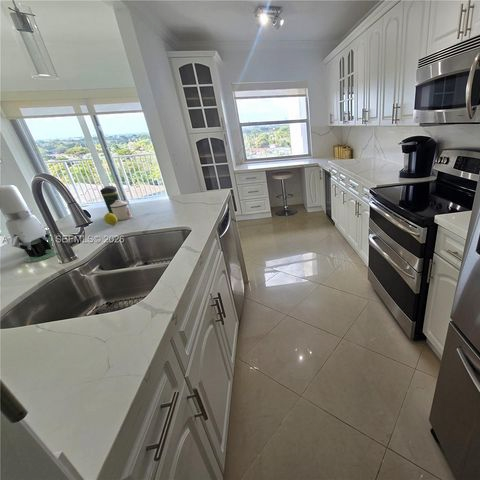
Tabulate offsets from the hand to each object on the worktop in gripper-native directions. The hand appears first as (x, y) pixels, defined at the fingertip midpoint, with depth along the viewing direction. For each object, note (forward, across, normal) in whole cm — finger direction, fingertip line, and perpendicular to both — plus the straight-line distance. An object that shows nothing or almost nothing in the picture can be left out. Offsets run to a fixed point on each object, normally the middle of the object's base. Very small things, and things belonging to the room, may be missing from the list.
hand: (41, 252), depth 115 cm
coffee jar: (+2, -57, -7) cm, 58 cm away
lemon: (+2, -37, +5) cm, 37 cm away
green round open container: (+2, -9, -10) cm, 14 cm away
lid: (+2, 0, 0) cm, 2 cm away
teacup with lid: (+2, -51, +2) cm, 51 cm away
